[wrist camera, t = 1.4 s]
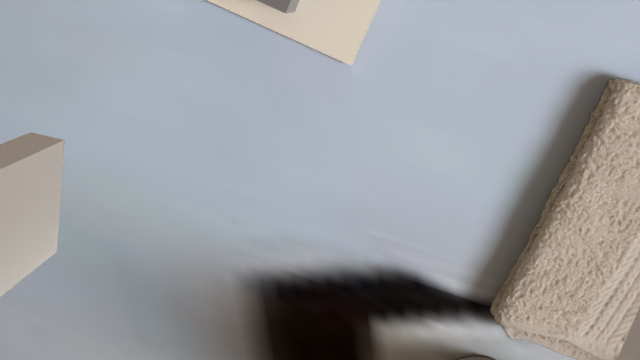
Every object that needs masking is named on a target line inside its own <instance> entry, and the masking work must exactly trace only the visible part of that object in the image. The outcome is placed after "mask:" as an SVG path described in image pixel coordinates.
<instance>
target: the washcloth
mask: <svg viewBox="0 0 640 360" xmlns="http://www.w3.org/2000/svg"><path fill="white" fill-rule="evenodd" d="M608 81H609V84H608V86H607V87H606V88H605V90H604V93H603V95H602V96H601V100H600V102H599V103H598V105H597V106H596V108H595V110H594V113H593V112H592V113H591V114H590V122H589V124H588V125H587V126H586V127H585V128H584V130H583V133H582V136H581V138H580V140H579V143H578V144H577V146H576V149H575V151H574V153H573V154H572V155H571V157H569V158H570V161H569V163H567V164H566V167H565V169H564V171H563V172H562V173H561V174H560V176H559V180H558V183H557V184H556V185H555V187H554V188H553V189H552V190H551V193H550V194H549V199H548V200H547V202H546V205H545V208H544V209H543V210H542V214H541V216H540V221H539V222H538V224H536V226H535V228H534V230H533V232H532V233H531V234H530V236H529V240H528V243H527V245H526V247H525V248H524V250H523V251H522V254H521V255H520V256H519V257H518V260H517V263H516V264H515V265H514V266H513V267H512V270H511V272H510V274H509V276H508V277H507V280H506V281H505V282H504V285H503V287H502V288H501V289H500V290H499V293H498V295H497V297H496V298H495V299H494V301H493V302H492V307H491V308H490V312H491V314H492V315H493V316H494V320H495V321H496V322H498V323H499V324H501V325H502V328H503V330H504V331H505V333H506V335H507V336H508V337H509V338H510V339H511V340H513V339H519V340H521V339H523V340H526V341H529V342H532V343H535V344H539V345H541V346H544V347H546V348H548V349H551V350H553V351H556V352H558V353H561V354H563V355H566V356H569V357H571V358H574V359H576V360H617V358H618V356H619V354H620V351H621V349H622V347H623V344H624V342H625V340H626V338H627V335H628V333H629V331H630V328H631V326H632V324H633V321H634V319H635V317H636V314H637V312H638V310H639V307H640V84H639V83H638V82H634V81H632V80H628V79H621V78H616V79H614V80H608ZM591 116H592V117H591Z"/></svg>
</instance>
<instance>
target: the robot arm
mask: <svg viewBox="0 0 640 360" xmlns="http://www.w3.org/2000/svg"><path fill="white" fill-rule="evenodd" d="M63 153H64V140H62V139H57V138H53V137H48V136H44V135H40V134H35V133H28V134H26V135H23V136H21V137H18V138H15V139H13V140H10V141H8V142H5V143H3V144H0V297H1V296H2V295H3V294H5V293H6V292H7V291H8V290H10V289H11V288H12V287H13V286H15V285H16V284H17V283H18V282H20V281H21V280H22V279H23V278H25V277H26V276H27V275H28V274H30V273H31V272H32V271H33V270H35V269H36V268H37V267H38V266H40V265H41V264H42V263H43V262H45V261H46V260H47V259H49V258H50V257H51V256H52V255H54V254H55V253H56V252H57V243H58V228H59V213H60V198H61V183H62V168H63ZM617 360H640V307H639V310H638V312H637V314H636V317H635V319H634V321H633V324H632V326H631V328H630V331H629V333H628V335H627V338H626V340H625V342H624V344H623V347H622V349H621V351H620V354H619V356H618V358H617Z"/></svg>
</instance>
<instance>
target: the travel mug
mask: <svg viewBox="0 0 640 360" xmlns="http://www.w3.org/2000/svg"><path fill="white" fill-rule="evenodd" d="M459 360H493V359H490V358H484V357H467V358H462V359H459Z"/></svg>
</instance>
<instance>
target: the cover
mask: <svg viewBox="0 0 640 360" xmlns="http://www.w3.org/2000/svg"><path fill="white" fill-rule="evenodd" d="M207 1H210V2H212V3H214V4H216V5H218V6H221V7H223V8H225V9H227V10H229V11H232V12H234V13H236V14H238V15H240V16H243V17H245V18H247V19H249V20H251V21H254V22H256V23H258V24H260V25H262V26H265V27H267V28H269V29H271V30H274V31H276V32H278V33H280V34H282V35H285V36H287V37H289V38H291V39H293V40H296V41H298V42H300V43H302V44H304V45H307V46H309V47H311V48H313V49H315V50H318V51H320V52H322V53H324V54H326V55H329V56H331V57H333V58H335V59H337V60H340V61H342V62H344V63H346V64H348V65H352V63H353V61H354V59H355V56H356V54H357V52H358V50H359V47H360V45H361V43H362V41H363V39H364V36H365V34H366V32H367V30H368V27H369V25H370V23H371V21H372V18H373V16H374V14H375V12H376V10H377V7H378V5H379V3H380V1H381V0H207Z"/></svg>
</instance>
